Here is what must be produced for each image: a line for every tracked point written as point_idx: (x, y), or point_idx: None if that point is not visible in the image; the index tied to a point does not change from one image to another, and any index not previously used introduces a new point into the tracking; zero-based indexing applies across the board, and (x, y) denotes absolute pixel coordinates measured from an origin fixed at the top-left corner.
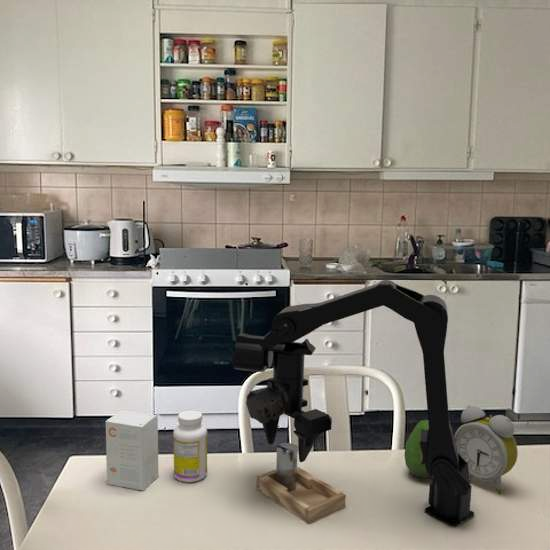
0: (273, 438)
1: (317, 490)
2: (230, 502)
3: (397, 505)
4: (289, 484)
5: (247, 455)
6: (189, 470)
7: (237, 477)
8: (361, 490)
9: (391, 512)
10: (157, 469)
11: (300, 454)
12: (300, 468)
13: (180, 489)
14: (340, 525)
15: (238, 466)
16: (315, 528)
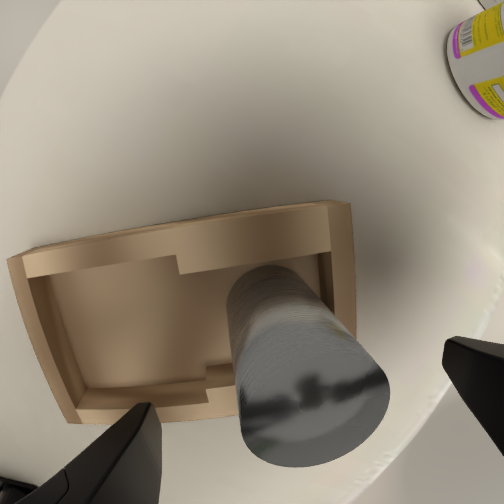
0: (459, 379)
1: (177, 385)
2: (287, 62)
3: None
4: (228, 309)
5: (495, 287)
6: (471, 24)
7: (425, 183)
8: None
9: (42, 452)
10: (498, 3)
11: (111, 433)
12: None
13: (422, 3)
14: (6, 326)
15: (471, 227)
16: (10, 253)
